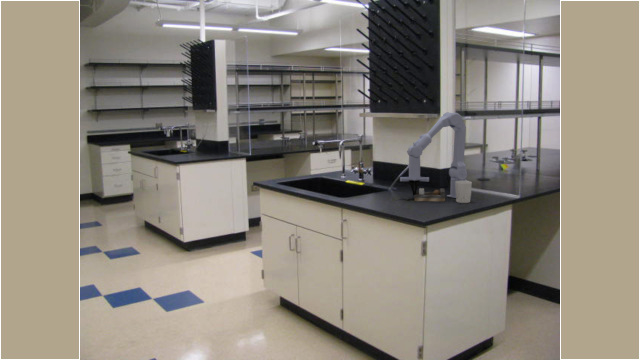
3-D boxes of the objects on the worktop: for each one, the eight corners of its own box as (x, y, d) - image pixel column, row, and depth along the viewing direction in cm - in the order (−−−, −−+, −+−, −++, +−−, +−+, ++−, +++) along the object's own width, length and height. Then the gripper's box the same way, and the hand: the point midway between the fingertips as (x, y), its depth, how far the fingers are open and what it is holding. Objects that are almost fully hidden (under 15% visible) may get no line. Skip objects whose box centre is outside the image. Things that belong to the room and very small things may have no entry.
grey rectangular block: (419, 196, 259) (419, 190, 258) (419, 194, 265) (419, 188, 264) (424, 196, 259) (424, 190, 258) (423, 194, 264) (423, 188, 264)
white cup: (473, 201, 255) (473, 181, 254) (469, 203, 248) (469, 183, 247) (457, 199, 259) (457, 180, 258) (453, 202, 252) (453, 182, 251)
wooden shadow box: (414, 201, 258) (414, 191, 257) (414, 197, 267) (414, 188, 266) (445, 201, 255) (445, 191, 255) (444, 198, 264) (444, 188, 263)
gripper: (399, 169, 258) (399, 196, 260) (429, 170, 255) (428, 196, 257) (400, 168, 264) (400, 193, 267) (428, 168, 262) (428, 194, 264)
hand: (414, 195), depth 262 cm, fingers closed
